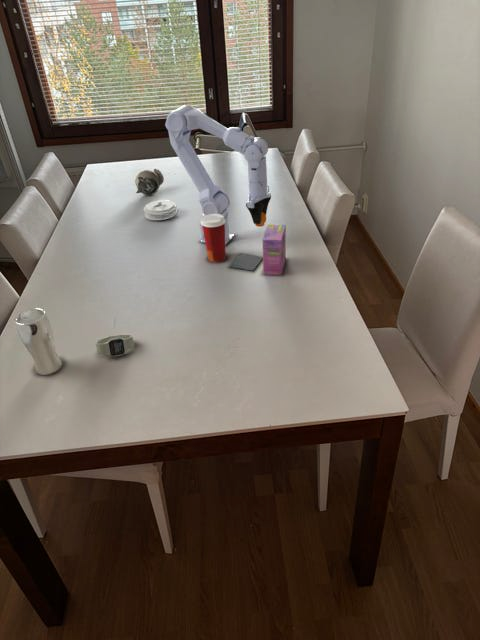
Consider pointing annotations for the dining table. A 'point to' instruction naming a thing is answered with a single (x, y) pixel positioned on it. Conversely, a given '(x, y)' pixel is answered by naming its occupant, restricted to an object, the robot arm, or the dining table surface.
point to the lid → (160, 210)
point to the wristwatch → (115, 344)
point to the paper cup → (214, 236)
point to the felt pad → (246, 262)
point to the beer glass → (38, 340)
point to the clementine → (262, 220)
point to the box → (274, 249)
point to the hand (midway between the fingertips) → (259, 220)
